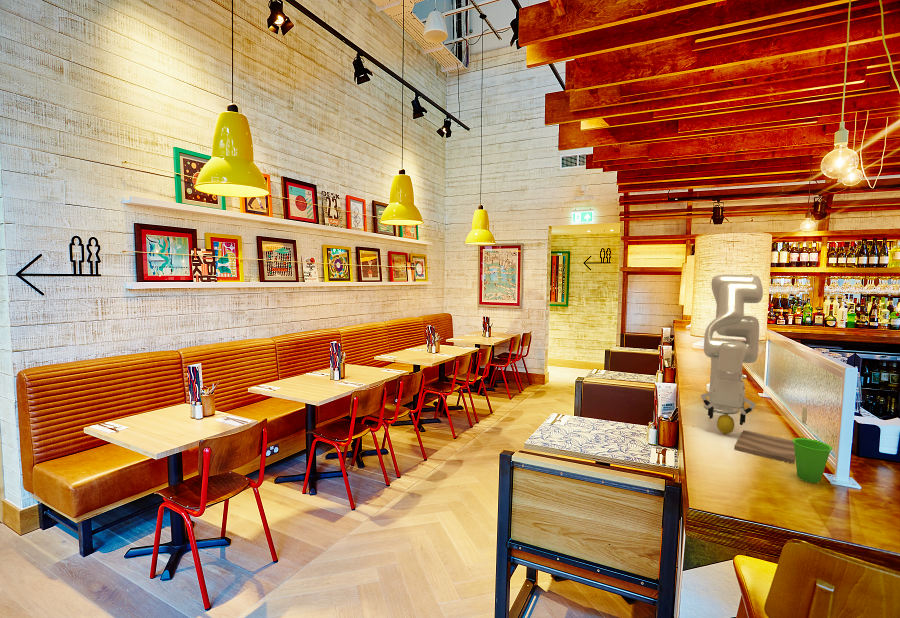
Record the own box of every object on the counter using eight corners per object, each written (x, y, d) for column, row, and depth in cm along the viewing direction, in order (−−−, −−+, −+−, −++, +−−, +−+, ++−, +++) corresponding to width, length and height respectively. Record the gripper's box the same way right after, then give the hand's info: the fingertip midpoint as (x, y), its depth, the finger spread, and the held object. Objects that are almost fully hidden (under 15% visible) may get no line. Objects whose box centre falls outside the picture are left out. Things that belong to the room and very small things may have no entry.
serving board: (743, 433, 162) (743, 429, 162) (797, 445, 152) (797, 441, 152) (734, 449, 147) (734, 445, 147) (793, 464, 137) (793, 459, 137)
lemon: (718, 430, 165) (719, 410, 164) (735, 434, 161) (736, 414, 160) (714, 434, 161) (715, 413, 160) (731, 438, 157) (733, 417, 156)
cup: (788, 469, 133) (791, 435, 132) (826, 478, 128) (830, 442, 127) (790, 481, 126) (793, 444, 125) (831, 490, 120) (834, 453, 119)
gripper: (759, 378, 156) (755, 424, 157) (704, 370, 167) (701, 413, 169) (756, 381, 150) (752, 429, 152) (700, 373, 162) (697, 417, 163)
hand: (725, 421), depth 160 cm, fingers open, 9 cm apart
